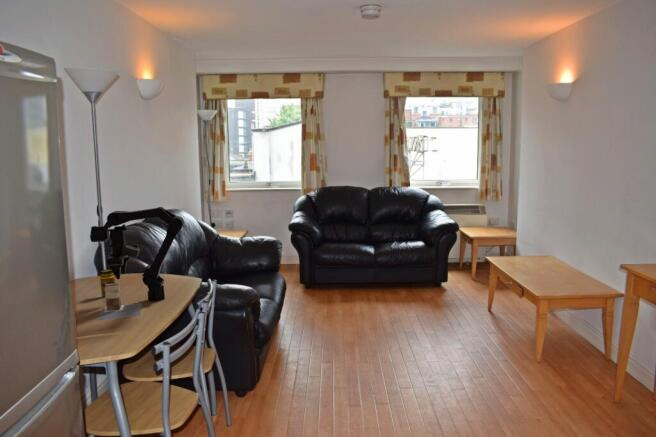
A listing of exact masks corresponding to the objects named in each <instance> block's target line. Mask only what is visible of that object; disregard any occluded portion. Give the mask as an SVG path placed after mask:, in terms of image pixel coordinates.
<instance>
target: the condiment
mask: <svg viewBox="0 0 656 437" xmlns="http://www.w3.org/2000/svg"><path fill="white" fill-rule="evenodd" d="M115 279H116V277H115V275H114V274H113V272H112V270H111V269H110V268H109V269H103V270H100V290H101V294H99V295H97V296H95V297H96V298H100V299H101V298H106V296H105V286H106V284H114V283H116V280H115Z"/></svg>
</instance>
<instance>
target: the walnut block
mask: <svg viewBox="0 0 656 437" xmlns="http://www.w3.org/2000/svg"><path fill="white" fill-rule="evenodd" d="M121 301H122V300H121V295H120V296H119V298H113V299H106V298H105V305H106V306H105V307H107V311H112V310H120V308H121V305H122V303H121Z"/></svg>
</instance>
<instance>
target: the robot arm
mask: <svg viewBox="0 0 656 437" xmlns="http://www.w3.org/2000/svg"><path fill="white" fill-rule="evenodd" d="M152 218H159V219H160V220H161V221H162V222H163V223H165V224H166V225H167V230H166V234H165V237H164V239H163V241H162V243H161V245H160V247H159V249H158V251H157V254H156V256H155V257H154V259H153V262H152V264H150V263H149V264H147V265H146V266H145V268H144V272H143V273H142V274H141V276H142V278H141V279H142V282H143V284H144V285H145V286H146V287H147V289H148V290H147V300H148V302H159V301H163V300H166V299H165V298H166V295H165V285H164V282H165V279H164V278H162V276H160V273H161V269H162V265H163V263H164V261H165V259H166V256H167V255H168V252H169V251H170V248H171V247H172V245H173V242H174V240H175V238H176V237H177V236H178V234H179V233H180V232H181V230H182V229H183V227H184V226H185V219H184V218H183V217H182V216H180V215H176V214H174V213H173V212H171V211H169V210H167V209H166V208H164V207H163V206H158V207H153V208H147V209H140V210H132V211H129V210H114V211H113V212H112V211H111V212H110V213H108V215H107V216H106V222H105V223H104V225H98V226H97V225H92V226H91V227H90V234H89V240H90V241H91V243H101V242H105V243H106V242H107V241H108V240H109V239H110V244H109V248H110V249H111V253H109V254H110V256H109V257H108V258H107V259H106V266H107V267H109V269H111V270H112V272H113V275H114V277H115V279H116V280H120V279H121V274H122V275H125V274H126V270H127V264H128V261H129V260H130V258H131V257H133V258H137V257H138V256H139V254H140V252H141V248H140V247H139V244H138V243H134V244H133V245H128V242H127V241H126V238H125V231H128V230H129V229H130V228H129V226H127V225H126V223H129V222H131V221H139V220H146V219H152ZM120 225H121V226H120ZM112 227H113V228H112Z"/></svg>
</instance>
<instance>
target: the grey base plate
mask: <svg viewBox="0 0 656 437" xmlns="http://www.w3.org/2000/svg"><path fill="white" fill-rule="evenodd" d="M142 307H143V302H137V303H127V304H121V308H120V310H112V311H107V306H102V307H101V310H100V313H99V315H98V317H97V319H96V321H98V322H99V321H105V320H106V321H107V320H114V319H115V320H116V319H121V318H129V317H139V316H141V312H142Z"/></svg>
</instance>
